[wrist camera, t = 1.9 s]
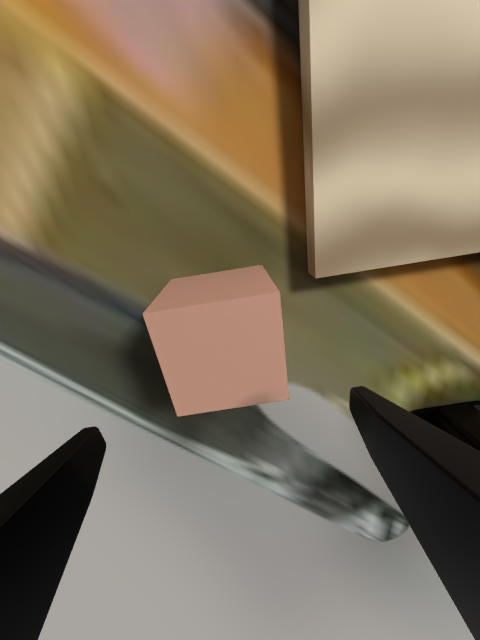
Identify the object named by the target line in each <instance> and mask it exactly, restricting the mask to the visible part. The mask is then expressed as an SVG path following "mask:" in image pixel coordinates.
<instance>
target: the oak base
mask: <svg viewBox="0 0 480 640" xmlns="http://www.w3.org/2000/svg"><path fill="white" fill-rule="evenodd" d="M298 4H299V32H300V60H301V88H302V116H303V144H304V173H305V201H306V229H307V257H308V273H309V274H310V275H312V276H313V277H314V278H321V277H328V276H334V275H340V274H347V273H353V272H359V271H365V270H372V269H378V268H384V267H390V266H397V265H403V264H409V263H416V262H422V261H428V260H434V259H441V258H447V257H453V256H459V255H466V254H472V253H478V252H480V0H298Z"/></svg>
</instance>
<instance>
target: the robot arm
mask: <svg viewBox="0 0 480 640" xmlns="http://www.w3.org/2000/svg"><path fill="white" fill-rule="evenodd" d="M349 406H350V411H351V414H352V416H353V418H354V420H355V423H356V425H357V427H358V430H359V432H360V434H361V436H362V438H363V441H364V443H365V445H366V448H367V450H368V452H369V454H370V456H371V458H372V460H373V462H374V463H375V465H376V467H377V469H378V470H379V472H380V474H381V476H382V477H383V479H384V481H385V483H386V484H387V486H388V488H389V490H390V491H391V493H392V495H393V497H394V498H395V500H396V502H397V504H398V505H399V507H400V509H401V511H402V513H403V514H404V516H405V518H406V520H407V521H408V523H409V525H410V527H411V528H412V530H413V532H414V534H415V535H416V537H417V539H418V541H419V542H420V544H421V546H422V548H423V549H424V551H425V553H426V555H427V556H428V558H429V560H430V562H431V563H432V565H433V567H434V569H435V570H436V572H437V574H438V576H439V577H440V579H441V581H442V583H443V584H444V586H445V588H446V590H447V591H448V593H449V595H450V597H451V598H452V600H453V602H454V604H455V605H456V607H457V609H458V611H459V612H460V614H461V616H462V618H463V619H464V621H465V623H466V624H467V626H468V628H469V630H470V632H471V633H472V635H473V637H474V639H475V640H480V401H474V402H468V403H461V404H454V405H448V406H441V407H434V408H428V409H421V410H416V411H415V412H413V414H412V413H410V412H408V411H407V410H405V409H403V408H401V407H400V406H398V405H396V404H394V403H392V402H391V401H389V400H387V399H385V398H384V397H382V396H380V395H378V394H376V393H375V392H373V391H371V390H369V389H368V388H366V387H363V386H359V387H353V388H351V390H350V404H349ZM105 451H106V442H105V440H104V438H103V436H102V434H101V432H100V431H99V429H98V428H97V427H88V428H84V429H82V430H81V431H80V432H78V433H77V434H76V435H74V436H73V437H72V438H71V439H69V440H68V441H67V442H66V443H64V444H63V445H62V446H61V447H59V448H58V449H57V450H56V451H54V452H53V453H52V454H50V455H49V456H48V457H47V458H46V459H44V460H43V461H42V462H40V463H39V464H38V465H37V466H36V467H34V468H33V469H32V470H30V471H29V472H28V473H27V474H25V475H24V476H23V477H21V478H20V479H19V480H18V481H17V482H15V483H14V484H13V485H11V486H10V487H9V488H8V489H6V490H5V491H4V492H3V493H1V494H0V640H38V638H39V635H40V632H41V629H42V627H43V625H44V622H45V619H46V617H47V614H48V612H49V609H50V606H51V604H52V601H53V598H54V596H55V593H56V590H57V588H58V585H59V583H60V580H61V577H62V575H63V572H64V569H65V567H66V564H67V562H68V559H69V556H70V554H71V551H72V549H73V546H74V543H75V541H76V538H77V536H78V533H79V530H80V528H81V525H82V522H83V520H84V517H85V515H86V512H87V509H88V507H89V504H90V501H91V498H92V496H93V492H94V489H95V486H96V482H97V479H98V475H99V472H100V468H101V465H102V461H103V458H104V454H105Z"/></svg>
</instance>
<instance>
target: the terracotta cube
mask: <svg viewBox="0 0 480 640" xmlns="http://www.w3.org/2000/svg"><path fill="white" fill-rule="evenodd" d="M143 317H144V320H145V323H146V326H147V328H148V331H149V334H150V337H151V340H152V343H153V346H154V349H155V352H156V355H157V358H158V361H159V364H160V367H161V370H162V373H163V376H164V378H165V381H166V384H167V387H168V390H169V393H170V396H171V399H172V402H173V405H174V408H175V411H176V414H177V417H178V416H185V415H191V414H198V413H204V412H211V411H217V410H224V409H231V408H237V407H244V406H250V405H257V404H263V403H270V402H276V401H283V400H289V393H288V381H287V369H286V358H285V346H284V335H283V323H282V311H281V300H280V291H279V290H278V288H277V287H276V286H275V284H274V283H273V281H272V280H271V278H270V277H269V275H268V274H267V272H266V271H265V269H264V268H263V266H262V265H258V266H252V267H246V268H240V269H233V270H227V271H221V272H215V273H208V274H202V275H196V276H190V277H183V278H177V279H171V280H170V281H169V283H168V284H167V285H166V286H165V287H164V289H163V290H162V291H161V292H160V293H159V295H158V296H157V297H156V298H155V299H154V301H153V302H152V303H151V304H150V305H149V307H148V308H147V309H146V310H145V311H144V313H143Z"/></svg>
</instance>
